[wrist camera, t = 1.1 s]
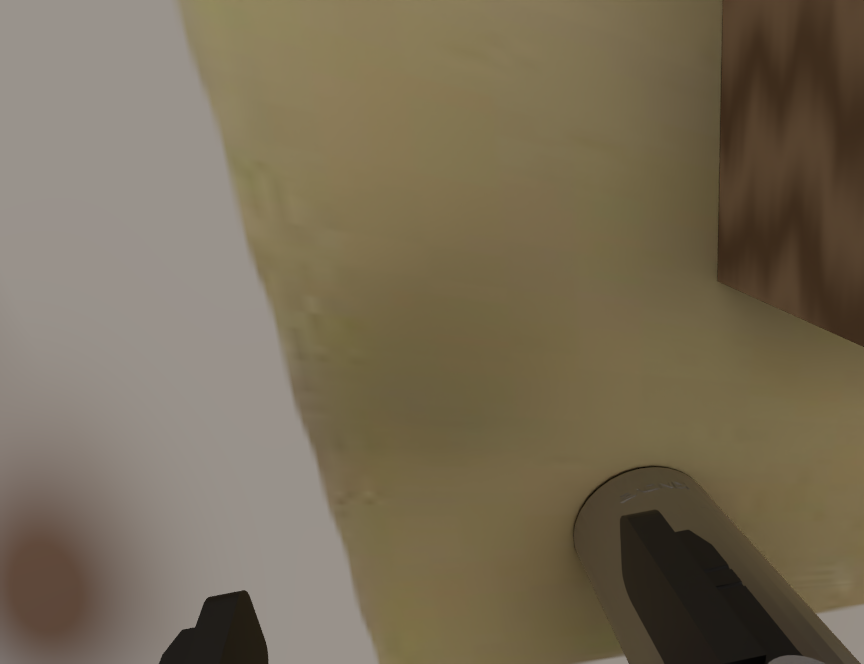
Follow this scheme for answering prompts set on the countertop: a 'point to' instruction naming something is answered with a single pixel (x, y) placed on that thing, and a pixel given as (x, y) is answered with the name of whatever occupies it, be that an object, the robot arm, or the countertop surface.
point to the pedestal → (794, 158)
